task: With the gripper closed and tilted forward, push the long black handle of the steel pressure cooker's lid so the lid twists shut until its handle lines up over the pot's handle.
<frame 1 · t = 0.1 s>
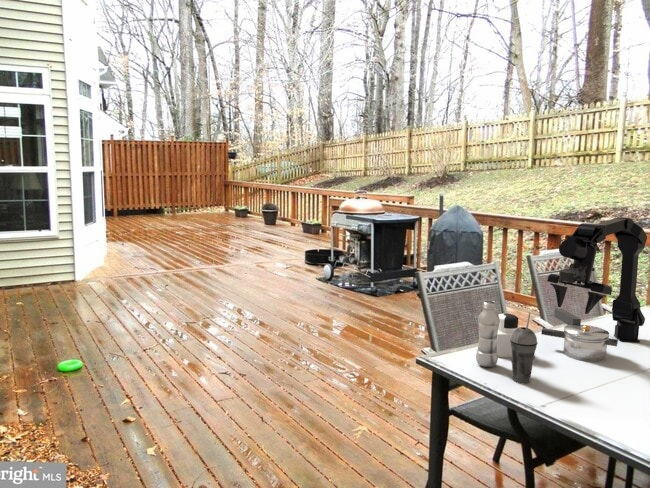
hand: (572, 310, 163), 15 cm above the table, tool pointing down, fingers open, 9 cm apart
beverage cup: (521, 381, 147), on the table
cooker lid: (576, 323, 172), point 9 cm above the table, hinge at -55.0°
cooker pot: (584, 354, 168), on the table
plastic bottle: (486, 366, 158), on the table
container: (505, 354, 168), on the table
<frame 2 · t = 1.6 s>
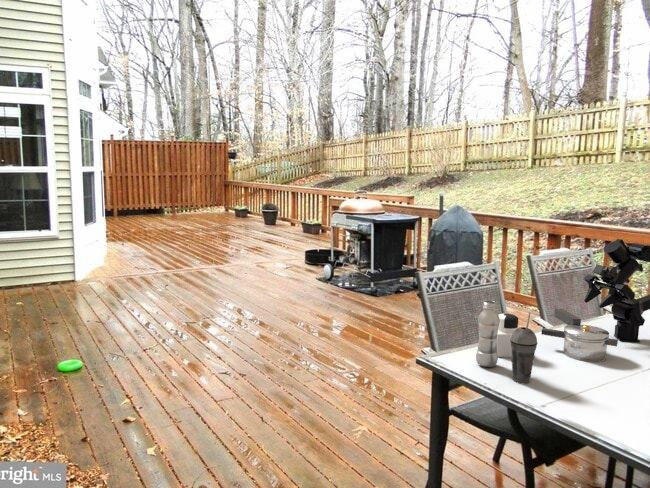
hand: (592, 304, 178), 14 cm above the table, tool tilted 45°, fingers open, 7 cm apart
nothing on the table moved.
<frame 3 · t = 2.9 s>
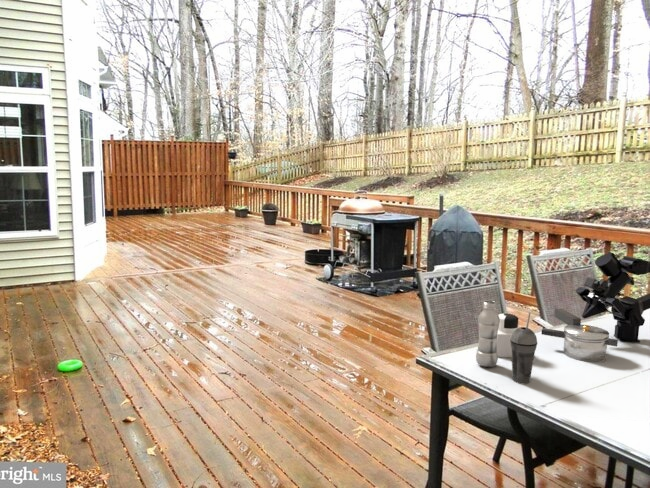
hand: (583, 317, 178), 9 cm above the table, tool tilted 45°, fingers closed
nothing on the table moved.
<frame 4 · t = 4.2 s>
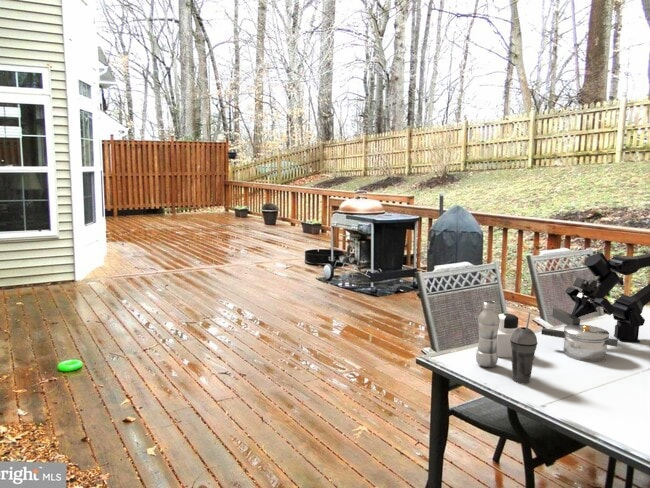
hand: (572, 317, 178), 9 cm above the table, tool tilted 45°, fingers closed, pressing on cooker lid
cooker lid: (575, 323, 172), point 9 cm above the table, hinge at -52.8°, touching gripper
everything else where it was.
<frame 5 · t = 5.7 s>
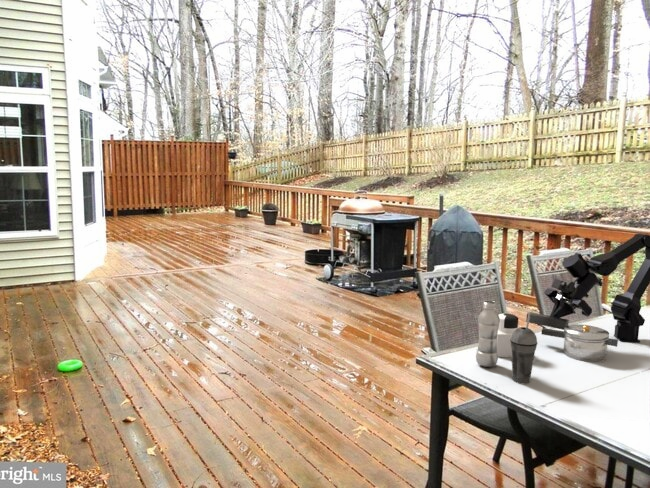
hand: (550, 319, 176), 9 cm above the table, tool tilted 45°, fingers closed
cooker lid: (566, 325, 171), point 9 cm above the table, hinge at -10.3°
everything else where it was.
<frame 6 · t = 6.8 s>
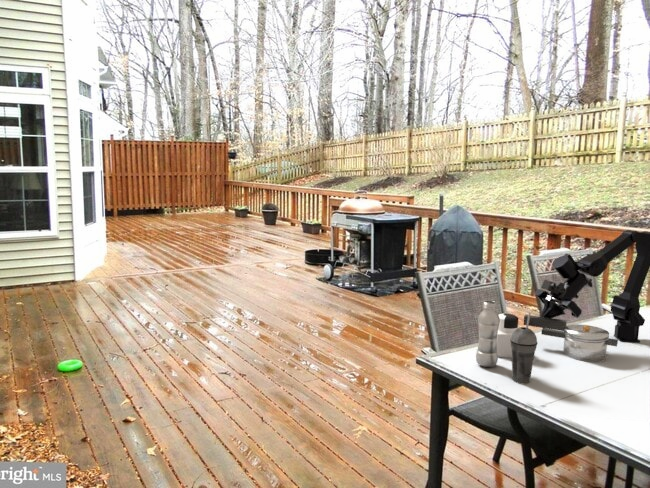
hand: (540, 320, 175), 9 cm above the table, tool tilted 45°, fingers closed
cooker lid: (565, 326, 169), point 9 cm above the table, hinge at 2.2°, touching gripper
everything else where it was.
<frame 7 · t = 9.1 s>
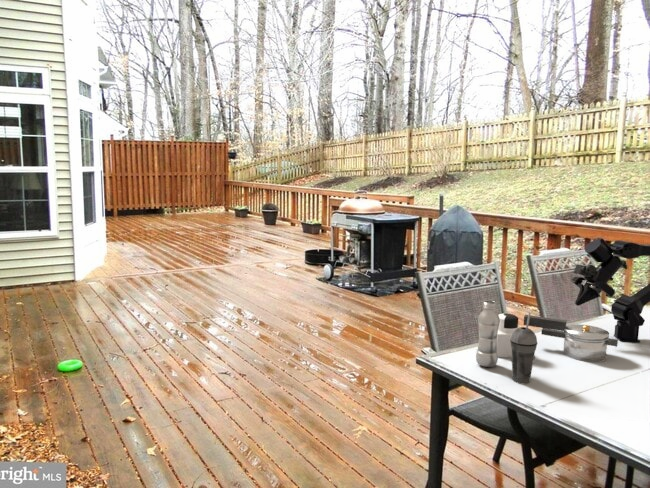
hand: (576, 304, 179), 13 cm above the table, tool tilted 40°, fingers closed
cooker lid: (565, 326, 169), point 9 cm above the table, hinge at 2.7°
everything else where it was.
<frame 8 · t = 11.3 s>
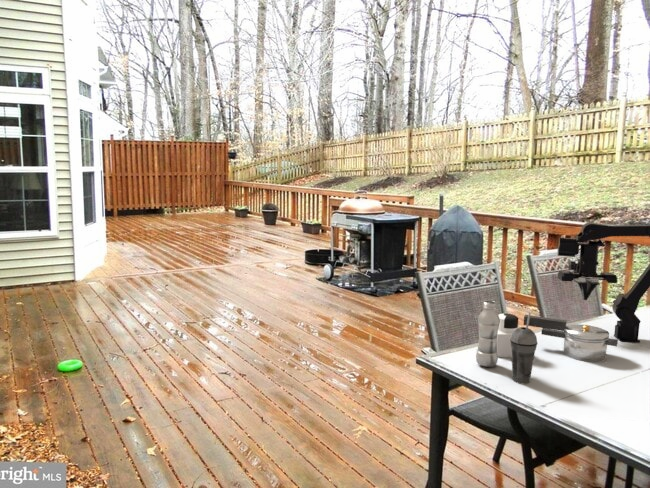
hand: (584, 300, 187), 13 cm above the table, tool pointing down, fingers closed
nothing on the table moved.
at the end: cooker lid at +3° (first picture: -55°); container moved 0.2 cm from its start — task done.
